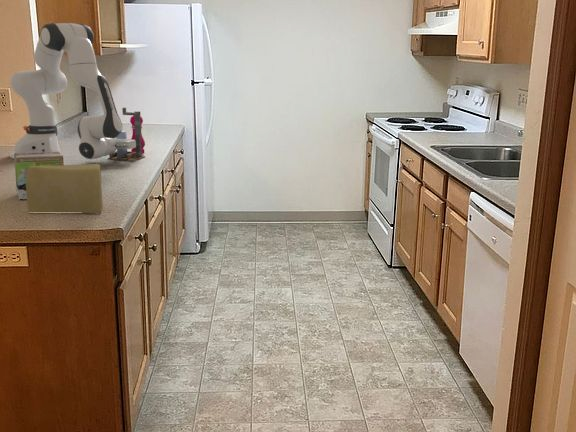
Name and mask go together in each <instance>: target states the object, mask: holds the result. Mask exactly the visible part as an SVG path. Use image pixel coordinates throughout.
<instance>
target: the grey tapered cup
mask: <svg viewBox="0 0 576 432" xmlns="http://www.w3.org/2000/svg"><path fill="white" fill-rule="evenodd" d="M127 135H128V134H127V131H126V130H122V131H121V133H120V134H119V135H118V136H117V137H116V138H117V139H128V137H127ZM116 151H117V158H126V154H127V151H128V149H116Z"/></svg>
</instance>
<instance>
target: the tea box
mask: <svg viewBox="0 0 576 432" xmlns="http://www.w3.org/2000/svg"><path fill="white" fill-rule="evenodd" d="M13 153H14V152H13ZM13 161H14V172H15V173H14V174H15V185H16V195H17V197H18V199H19V200H20V199H23V200H27V193H26V180H27V168H28V167H30V166H62V165H65V164H64V156H63V155H62V152H61V153H60V152H35V153H14V159H13Z"/></svg>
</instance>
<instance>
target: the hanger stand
mask: <svg viewBox="0 0 576 432" xmlns="http://www.w3.org/2000/svg"><path fill="white" fill-rule="evenodd" d="M121 110H122V116H134V117H135V141H136V152H131V151H128V150H127V154H126V158H117V150H116V151H115V152H114V153H113V154H110V155H108V157H107V160H108V159H110V160H109V161H120V160H121V162H122V161H123V162H136V161H140V160H141V159H145V158H146V156H145V155H143V154H142V141H141V133H142V128H141V125H142V124H141V117H142V116H141V111H140V110H139V111H134V112H128V111H127V107H122V109H121Z"/></svg>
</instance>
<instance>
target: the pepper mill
mask: <svg viewBox="0 0 576 432" xmlns="http://www.w3.org/2000/svg"><path fill="white" fill-rule="evenodd" d="M143 122H144V120H143V117H142V116H141V129H143V125H142V124H143ZM129 123H130V124H131V129H132V136H131V138H130V139H132V140H135V117H134V115H131V117H130V119H129ZM141 141H142V155H143V154H145V149H144V148H145V146H146V142H145V138H144V137H143V134H142V132H141ZM130 152H136V147H135V148H132V149H130Z"/></svg>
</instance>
